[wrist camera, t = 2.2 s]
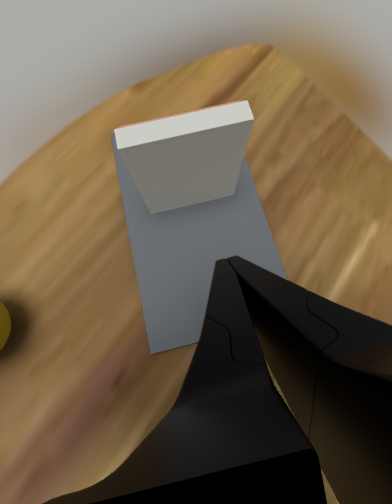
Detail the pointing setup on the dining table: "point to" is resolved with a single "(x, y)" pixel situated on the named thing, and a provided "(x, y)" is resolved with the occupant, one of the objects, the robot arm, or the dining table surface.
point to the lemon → (4, 325)
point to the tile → (187, 154)
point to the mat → (190, 253)
